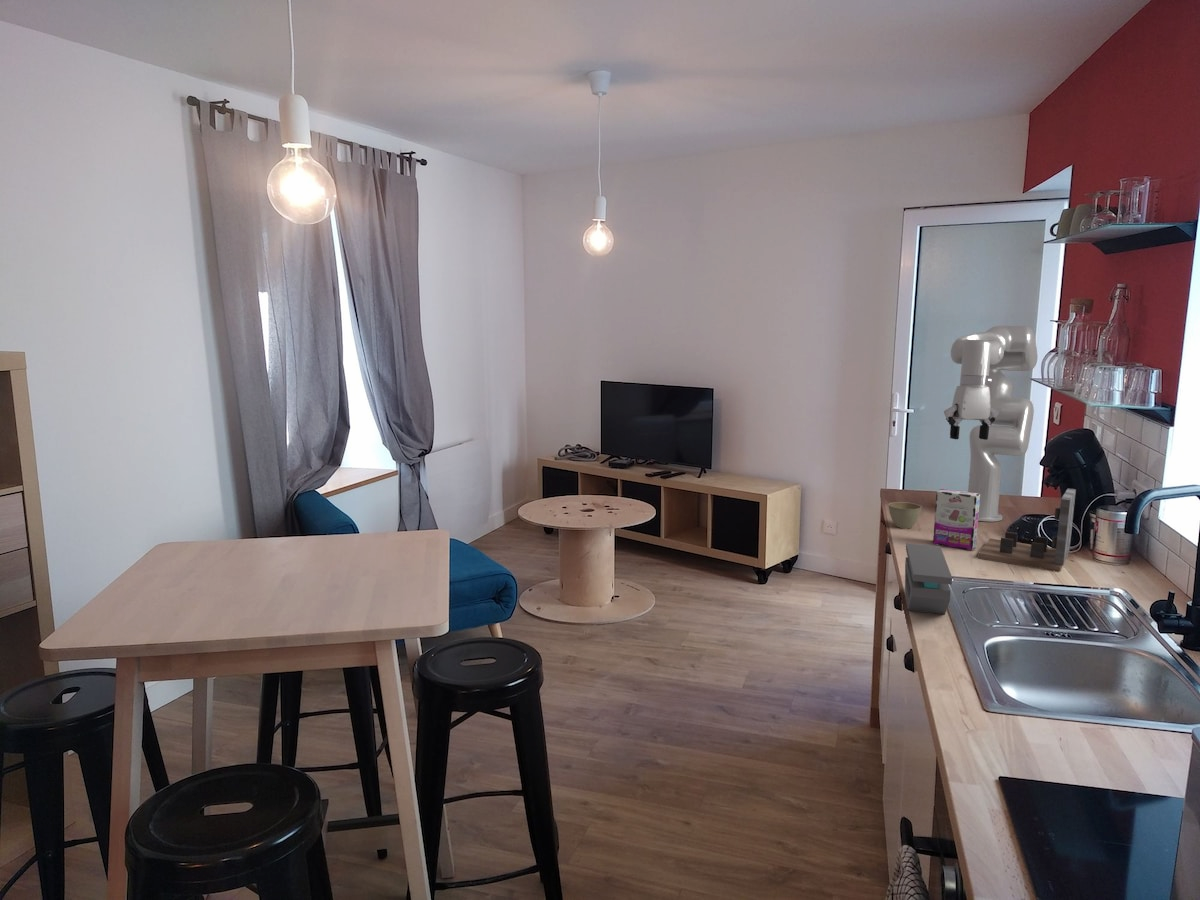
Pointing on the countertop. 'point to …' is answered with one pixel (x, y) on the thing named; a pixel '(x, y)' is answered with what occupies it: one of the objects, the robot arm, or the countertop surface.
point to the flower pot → (904, 513)
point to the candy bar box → (956, 519)
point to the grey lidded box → (927, 579)
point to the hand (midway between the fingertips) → (968, 439)
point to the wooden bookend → (1036, 543)
